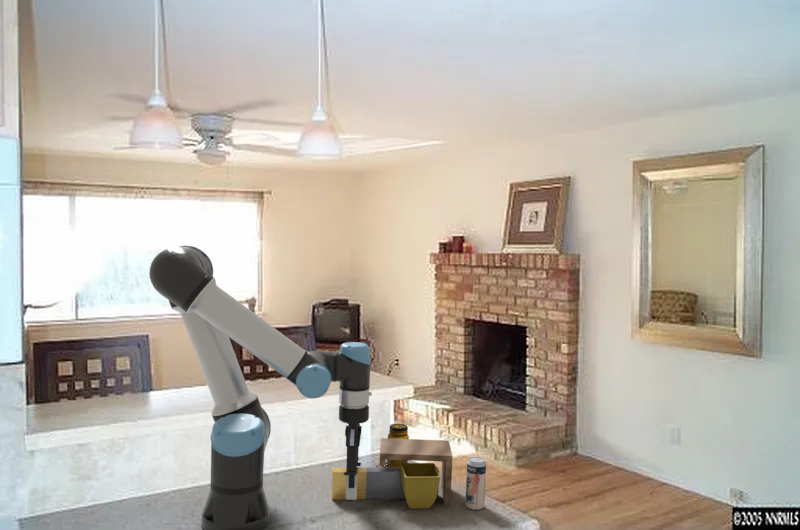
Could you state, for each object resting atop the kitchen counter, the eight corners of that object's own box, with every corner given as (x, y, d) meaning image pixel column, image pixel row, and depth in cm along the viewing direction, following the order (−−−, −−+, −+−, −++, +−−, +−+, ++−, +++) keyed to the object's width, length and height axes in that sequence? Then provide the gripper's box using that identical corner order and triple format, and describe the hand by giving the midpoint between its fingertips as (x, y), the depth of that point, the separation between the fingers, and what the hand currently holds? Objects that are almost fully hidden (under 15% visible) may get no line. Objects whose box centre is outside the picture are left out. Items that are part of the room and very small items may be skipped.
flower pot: (439, 512, 161) (440, 476, 161) (403, 513, 160) (404, 476, 160) (432, 497, 170) (434, 462, 169) (398, 497, 169) (400, 463, 168)
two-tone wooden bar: (331, 499, 167) (332, 472, 166) (331, 494, 170) (332, 467, 169) (438, 497, 170) (439, 471, 169) (436, 492, 173) (437, 466, 172)
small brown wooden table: (378, 502, 166) (379, 453, 165) (379, 484, 178) (380, 438, 177) (450, 505, 166) (452, 455, 165) (446, 486, 178) (448, 440, 177)
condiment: (413, 468, 190) (415, 427, 190) (388, 473, 186) (390, 431, 185) (399, 460, 196) (401, 420, 196) (374, 465, 192) (376, 424, 191)
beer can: (461, 504, 166) (463, 457, 166) (477, 501, 168) (480, 455, 168) (471, 512, 162) (473, 463, 161) (488, 509, 164) (490, 461, 163)
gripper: (367, 414, 159) (365, 510, 160) (370, 396, 175) (367, 483, 177) (336, 413, 159) (334, 509, 160) (341, 395, 175) (339, 482, 177)
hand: (351, 495), depth 169 cm, fingers closed on two-tone wooden bar, 3 cm apart
